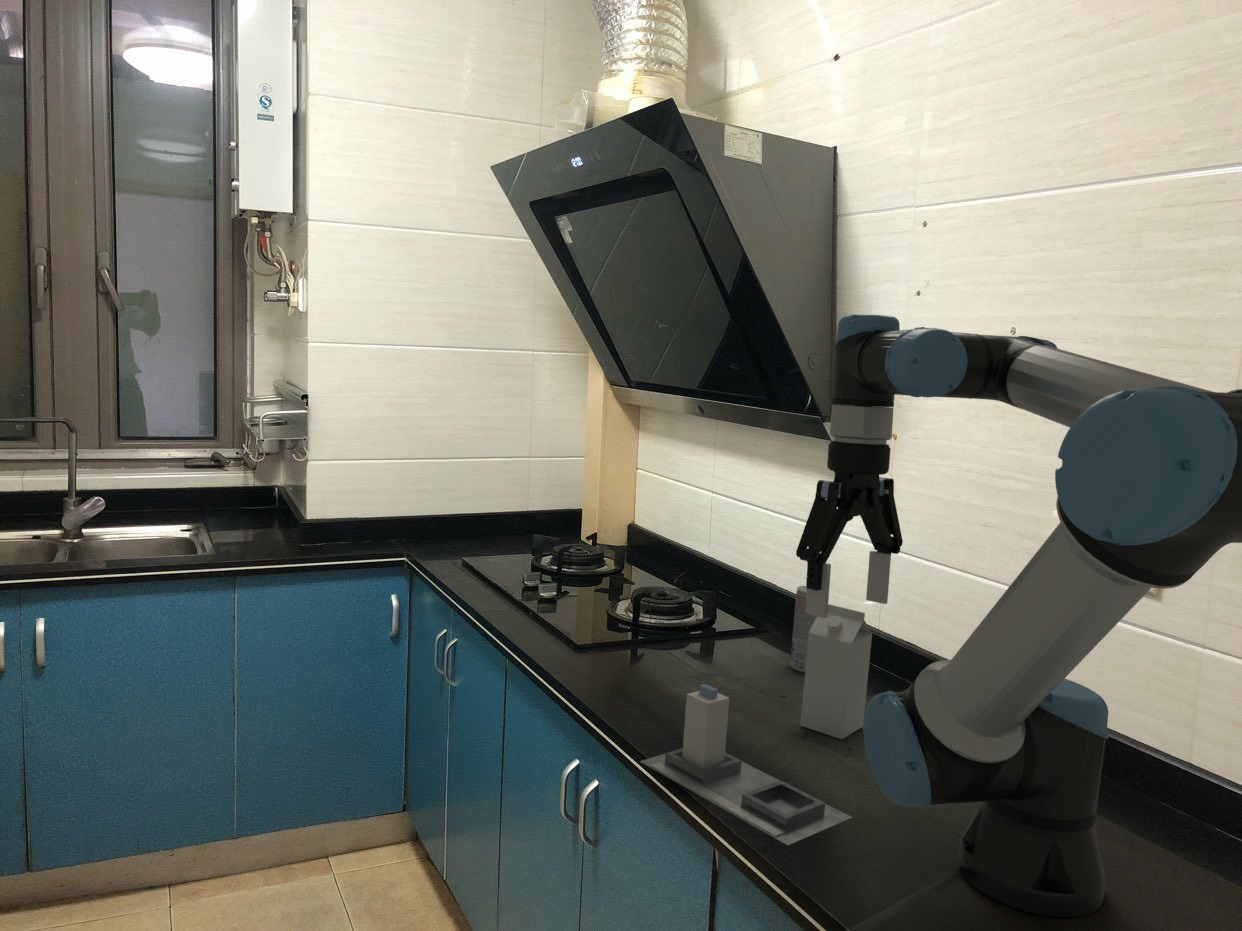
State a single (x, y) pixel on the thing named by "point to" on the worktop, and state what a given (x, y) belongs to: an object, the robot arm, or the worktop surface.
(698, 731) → the plug
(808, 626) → the beverage can
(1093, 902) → the robot arm
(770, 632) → the worktop surface
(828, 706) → the milk carton
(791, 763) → the worktop surface
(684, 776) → the panel
